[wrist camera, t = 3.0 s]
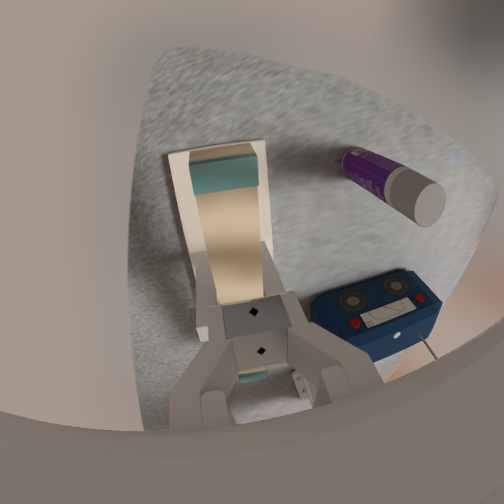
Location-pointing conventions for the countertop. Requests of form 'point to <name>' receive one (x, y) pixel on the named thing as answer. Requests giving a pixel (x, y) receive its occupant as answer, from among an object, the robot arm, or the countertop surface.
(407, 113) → the countertop surface
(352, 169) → the container
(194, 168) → the beam
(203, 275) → the stand
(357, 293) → the radio
